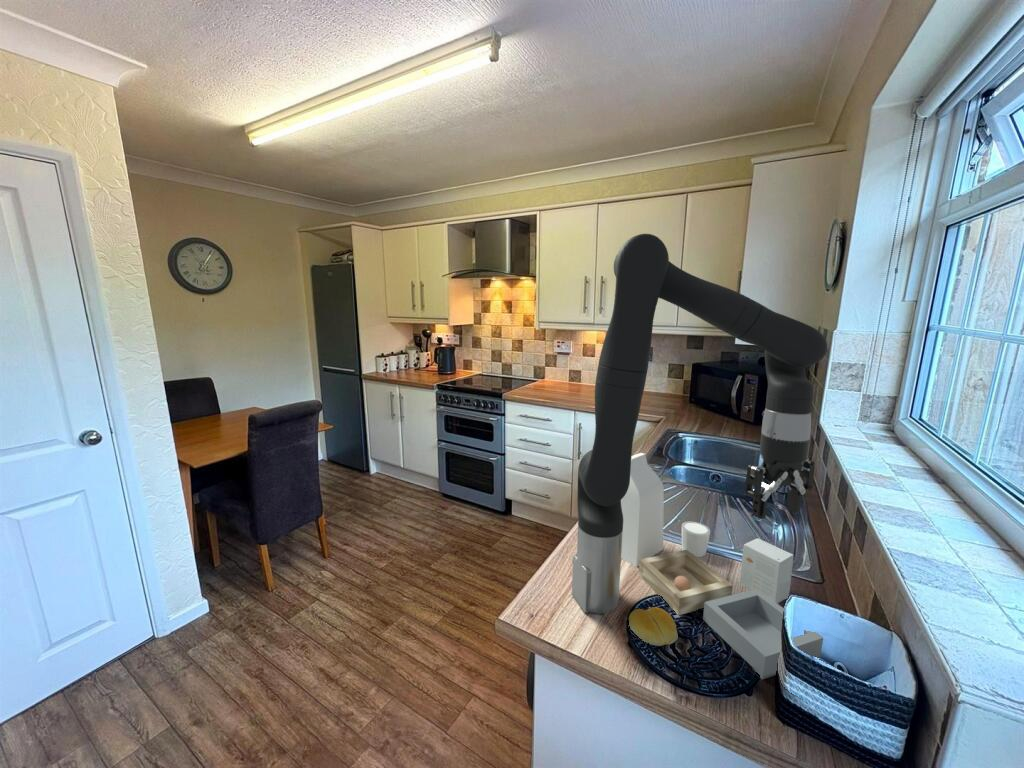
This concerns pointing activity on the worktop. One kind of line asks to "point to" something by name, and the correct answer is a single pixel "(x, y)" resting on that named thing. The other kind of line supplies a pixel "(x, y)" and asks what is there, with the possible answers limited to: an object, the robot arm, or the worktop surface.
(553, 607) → the worktop surface
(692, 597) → the birch box
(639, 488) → the milk
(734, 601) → the grey tub
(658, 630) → the bread roll
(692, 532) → the white cylinder
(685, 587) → the ball
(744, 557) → the small box
